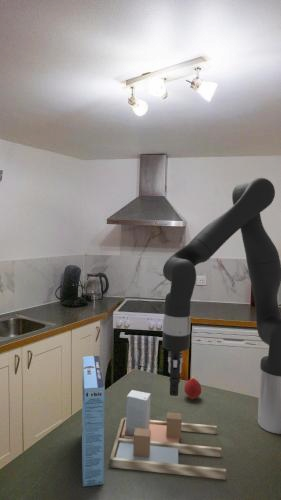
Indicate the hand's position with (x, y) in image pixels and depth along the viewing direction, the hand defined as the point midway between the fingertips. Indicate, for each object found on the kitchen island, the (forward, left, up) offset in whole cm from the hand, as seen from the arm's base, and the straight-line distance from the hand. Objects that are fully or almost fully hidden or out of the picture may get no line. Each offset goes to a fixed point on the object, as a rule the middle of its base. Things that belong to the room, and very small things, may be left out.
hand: (173, 387), depth 91 cm
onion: (-7, -24, -15) cm, 29 cm away
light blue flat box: (+20, +10, -15) cm, 27 cm away
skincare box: (+10, 0, -15) cm, 18 cm away
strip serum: (+6, 0, -15) cm, 16 cm away
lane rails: (+1, +4, -15) cm, 16 cm away
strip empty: (+6, +9, -15) cm, 18 cm away
